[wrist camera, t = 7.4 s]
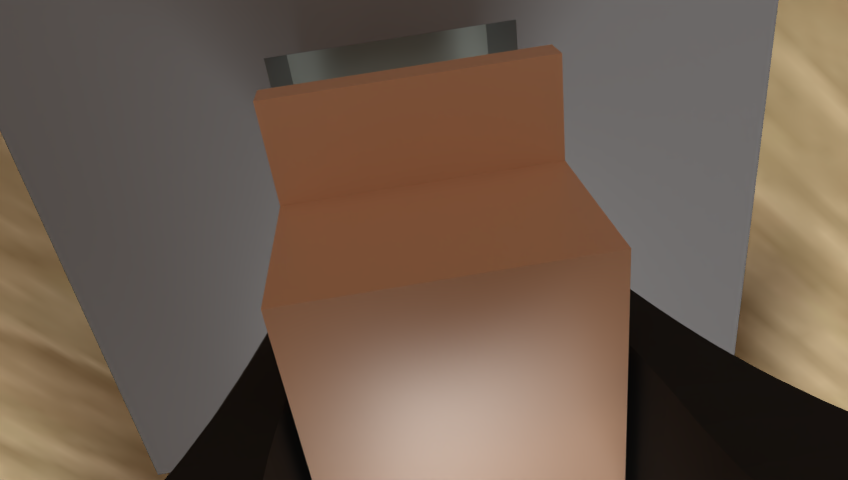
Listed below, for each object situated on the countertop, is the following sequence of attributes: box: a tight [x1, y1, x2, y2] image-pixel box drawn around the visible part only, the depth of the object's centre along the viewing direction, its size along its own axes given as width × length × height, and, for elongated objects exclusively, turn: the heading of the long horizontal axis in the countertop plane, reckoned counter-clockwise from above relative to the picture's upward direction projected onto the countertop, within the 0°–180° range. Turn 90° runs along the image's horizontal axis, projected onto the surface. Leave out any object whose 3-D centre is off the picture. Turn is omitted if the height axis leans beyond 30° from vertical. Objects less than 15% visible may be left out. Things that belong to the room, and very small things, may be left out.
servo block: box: [253, 44, 631, 480], centre depth 12 cm, size 9×4×7 cm, turn 7°
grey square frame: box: [0, 0, 778, 475], centre depth 18 cm, size 15×17×4 cm
